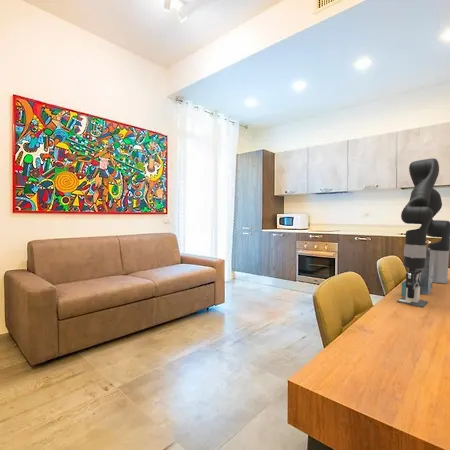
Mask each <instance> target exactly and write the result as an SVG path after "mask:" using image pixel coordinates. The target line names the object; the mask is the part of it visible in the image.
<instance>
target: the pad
mask: <svg viewBox="0 0 450 450" xmlns="http://www.w3.org/2000/svg"><path fill="white" fill-rule="evenodd" d="M396 303H400V304H403V305H409V306H413V307H414V306H415V307H419V308H424V307H425V306H427V304H428V303H429V301H427V300H423V299H419V302H418V303H415V302H410V301H406V296H401V297H400V298H398V299H397V300H396Z"/></svg>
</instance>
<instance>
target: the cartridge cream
mask: <svg viewBox="0 0 450 450" xmlns="http://www.w3.org/2000/svg"><path fill="white" fill-rule="evenodd" d="M410 285H412V284H410ZM407 293H408V288H406V296H405V297H406V301H410V302H415V303H418V302H419V300H421V299H420V297H421V295H420V286H418V285H415V290H414V298H413V299H412V298H408V297H407Z"/></svg>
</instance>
